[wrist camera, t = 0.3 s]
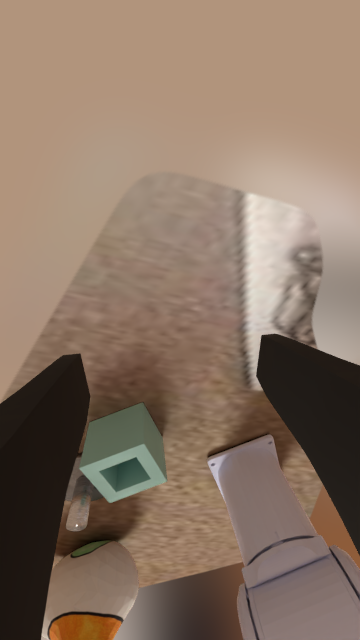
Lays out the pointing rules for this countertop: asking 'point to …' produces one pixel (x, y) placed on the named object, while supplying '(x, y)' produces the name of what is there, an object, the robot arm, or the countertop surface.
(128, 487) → the collar
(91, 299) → the countertop surface
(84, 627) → the decorative sculpture
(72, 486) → the post
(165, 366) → the countertop surface
